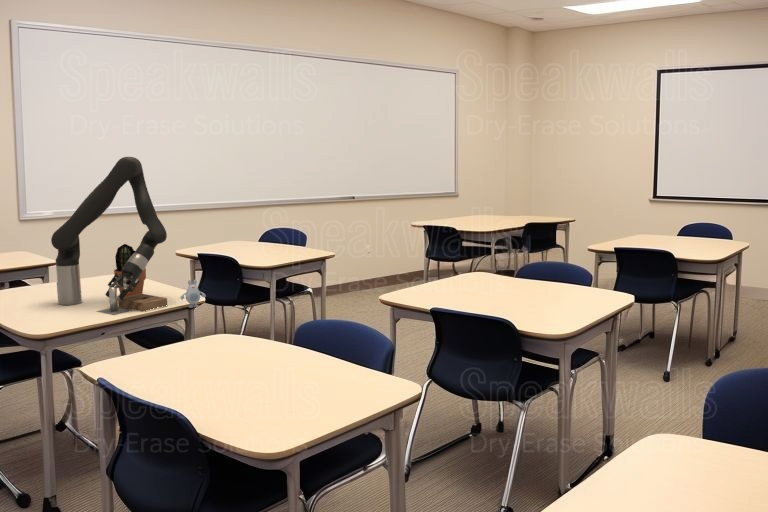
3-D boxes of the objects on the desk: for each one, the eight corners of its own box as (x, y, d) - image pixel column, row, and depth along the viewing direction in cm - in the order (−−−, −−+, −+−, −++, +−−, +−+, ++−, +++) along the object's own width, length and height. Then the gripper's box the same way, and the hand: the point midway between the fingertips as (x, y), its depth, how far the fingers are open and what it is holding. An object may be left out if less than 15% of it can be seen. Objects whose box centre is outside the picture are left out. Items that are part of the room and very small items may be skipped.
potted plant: (148, 299, 311) (145, 244, 307) (116, 301, 305) (113, 246, 301) (146, 293, 323) (142, 240, 319) (115, 295, 317) (111, 242, 313)
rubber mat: (95, 312, 286) (95, 311, 286) (114, 308, 293) (114, 307, 293) (113, 316, 279) (113, 315, 279) (132, 311, 287) (132, 310, 286)
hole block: (118, 307, 294) (117, 298, 293) (142, 302, 304) (141, 293, 303) (144, 312, 285) (143, 303, 284) (167, 307, 295) (167, 298, 294)
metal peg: (108, 311, 286) (107, 287, 284) (115, 309, 288) (113, 286, 287) (113, 312, 284) (111, 288, 282) (119, 310, 286) (118, 287, 285)
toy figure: (181, 310, 290) (180, 282, 288) (179, 306, 295) (178, 279, 293) (207, 307, 294) (206, 280, 292) (204, 304, 299) (203, 277, 298)
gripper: (118, 259, 294) (96, 290, 286) (140, 262, 286) (118, 294, 279) (130, 269, 299) (109, 300, 292) (151, 272, 292) (130, 304, 284)
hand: (113, 297), depth 285 cm, fingers open, 8 cm apart
